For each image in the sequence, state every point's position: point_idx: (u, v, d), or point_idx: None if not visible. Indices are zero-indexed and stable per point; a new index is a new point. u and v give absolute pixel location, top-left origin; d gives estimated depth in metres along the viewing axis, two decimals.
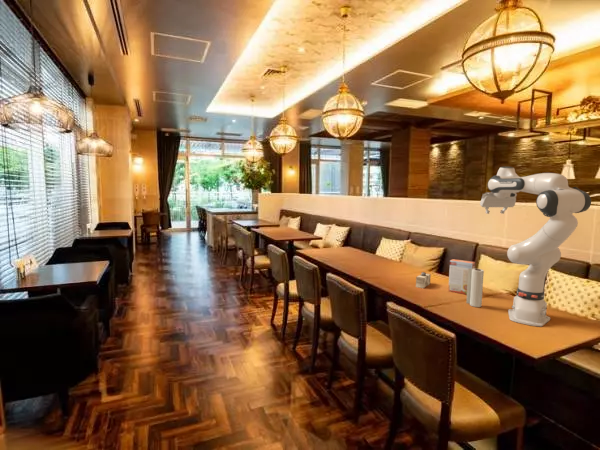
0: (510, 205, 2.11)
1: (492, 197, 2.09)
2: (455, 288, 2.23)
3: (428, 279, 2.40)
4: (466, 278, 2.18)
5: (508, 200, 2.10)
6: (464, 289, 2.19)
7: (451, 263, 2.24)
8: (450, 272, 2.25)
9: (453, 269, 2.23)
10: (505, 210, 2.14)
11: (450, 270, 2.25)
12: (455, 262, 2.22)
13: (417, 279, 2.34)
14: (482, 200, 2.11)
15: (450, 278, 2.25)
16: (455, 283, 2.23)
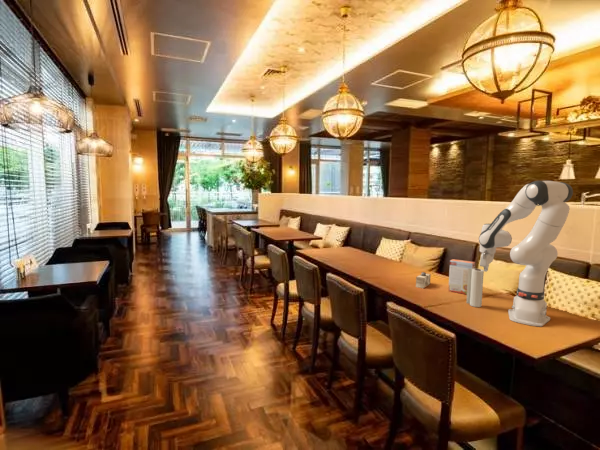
0: (492, 260, 2.18)
1: (488, 255, 2.07)
2: (455, 288, 2.23)
3: (428, 279, 2.40)
4: (466, 278, 2.18)
5: (491, 255, 2.16)
6: (464, 289, 2.19)
7: (451, 263, 2.24)
8: (450, 272, 2.25)
9: (453, 269, 2.23)
10: None
11: (450, 270, 2.25)
12: (455, 262, 2.22)
13: (417, 279, 2.34)
14: (483, 260, 2.05)
15: (450, 278, 2.25)
16: (455, 283, 2.23)
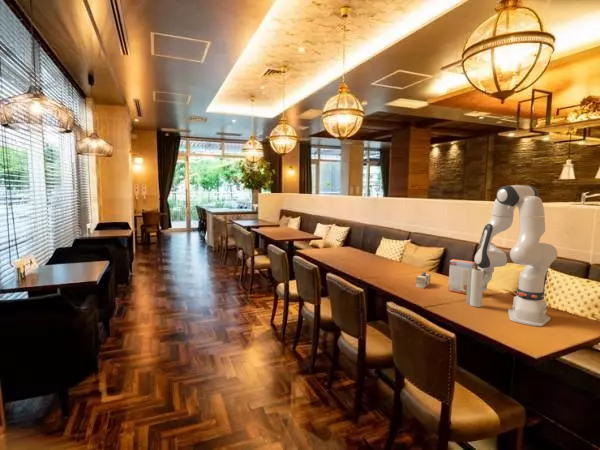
0: (490, 278, 2.19)
1: (486, 274, 2.09)
2: (455, 288, 2.23)
3: (428, 279, 2.40)
4: (466, 278, 2.18)
5: None
6: (464, 289, 2.19)
7: (451, 263, 2.24)
8: (450, 272, 2.25)
9: (453, 269, 2.23)
10: (486, 286, 2.16)
11: (450, 270, 2.25)
12: (455, 262, 2.22)
13: (417, 279, 2.34)
14: None
15: (450, 278, 2.25)
16: (455, 283, 2.23)
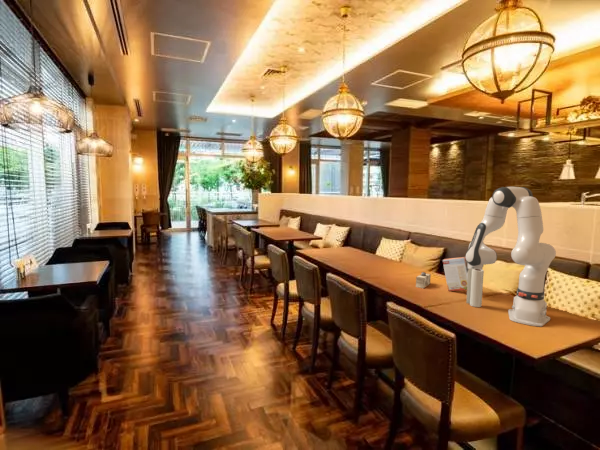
0: None
1: None
2: (454, 286, 2.24)
3: (428, 279, 2.40)
4: (462, 274, 2.20)
5: None
6: (463, 285, 2.20)
7: (444, 262, 2.27)
8: (445, 271, 2.27)
9: (447, 268, 2.26)
10: None
11: (445, 270, 2.27)
12: (447, 260, 2.26)
13: (417, 279, 2.34)
14: None
15: (447, 277, 2.26)
16: (453, 281, 2.24)
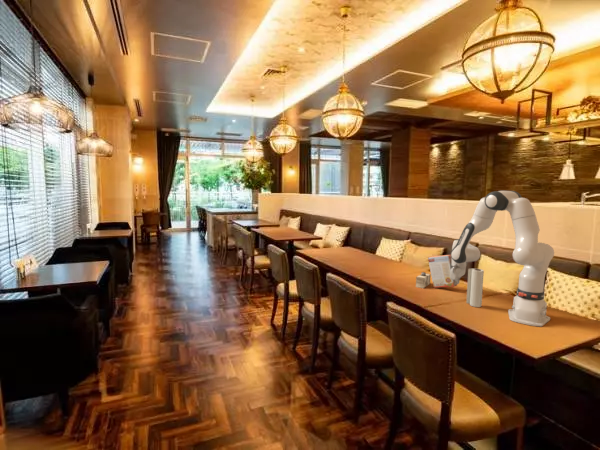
0: (464, 273, 2.30)
1: (458, 269, 2.20)
2: (439, 283, 2.31)
3: (428, 279, 2.40)
4: (446, 271, 2.27)
5: (463, 269, 2.28)
6: (447, 282, 2.27)
7: (429, 260, 2.34)
8: (431, 269, 2.34)
9: (432, 265, 2.33)
10: (459, 280, 2.27)
11: (430, 267, 2.34)
12: (433, 258, 2.33)
13: (417, 279, 2.34)
14: (453, 274, 2.18)
15: (432, 274, 2.33)
16: (438, 278, 2.31)
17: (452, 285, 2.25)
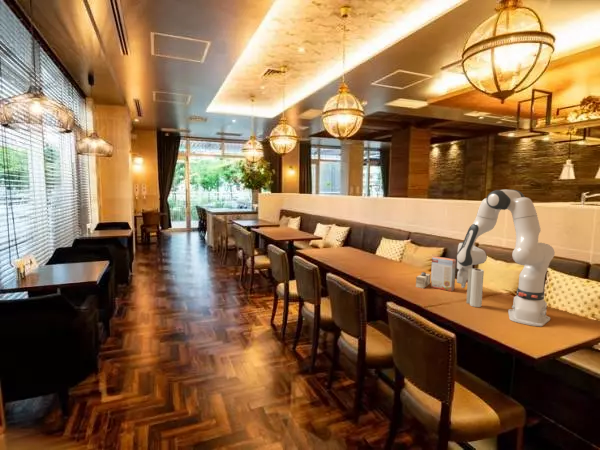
0: None
1: (465, 272, 2.16)
2: (437, 284, 2.31)
3: (428, 279, 2.40)
4: (447, 275, 2.26)
5: None
6: (445, 285, 2.27)
7: (433, 260, 2.32)
8: (432, 269, 2.33)
9: (435, 266, 2.32)
10: (465, 283, 2.23)
11: (432, 267, 2.33)
12: (437, 259, 2.30)
13: (417, 279, 2.34)
14: (460, 277, 2.14)
15: (432, 274, 2.33)
16: (437, 279, 2.31)
17: (449, 289, 2.26)
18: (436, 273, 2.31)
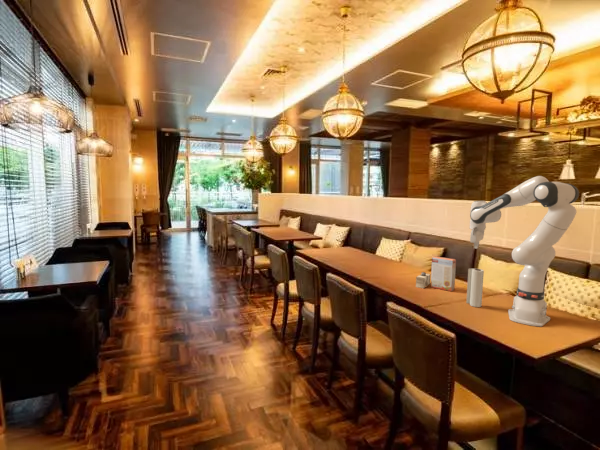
0: (482, 237, 2.21)
1: (478, 231, 2.11)
2: (437, 284, 2.31)
3: (428, 279, 2.40)
4: (447, 275, 2.26)
5: (481, 233, 2.19)
6: (445, 285, 2.27)
7: (433, 260, 2.32)
8: (432, 269, 2.33)
9: (435, 266, 2.32)
10: (478, 244, 2.17)
11: (432, 267, 2.33)
12: (437, 259, 2.30)
13: (417, 279, 2.34)
14: (473, 236, 2.08)
15: (432, 274, 2.33)
16: (437, 279, 2.31)
17: (449, 289, 2.26)
18: (436, 273, 2.31)
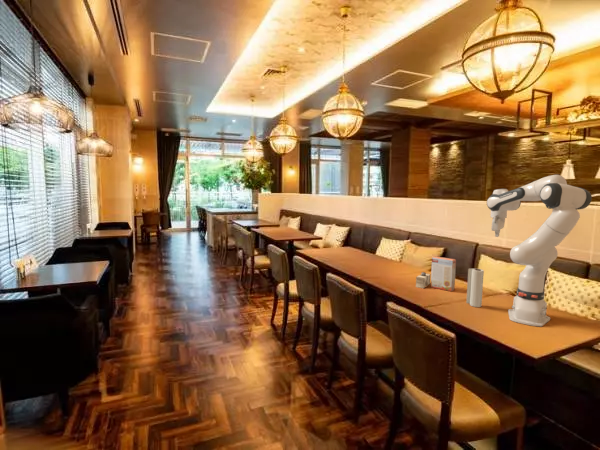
0: (503, 226, 2.21)
1: (500, 219, 2.11)
2: (437, 284, 2.31)
3: (428, 279, 2.40)
4: (447, 275, 2.26)
5: (502, 221, 2.19)
6: (445, 285, 2.27)
7: (433, 260, 2.32)
8: (432, 269, 2.33)
9: (435, 266, 2.32)
10: (499, 232, 2.17)
11: (432, 267, 2.33)
12: (437, 259, 2.30)
13: (417, 279, 2.34)
14: (495, 224, 2.08)
15: (432, 274, 2.33)
16: (437, 279, 2.31)
17: (449, 289, 2.26)
18: (436, 273, 2.31)
